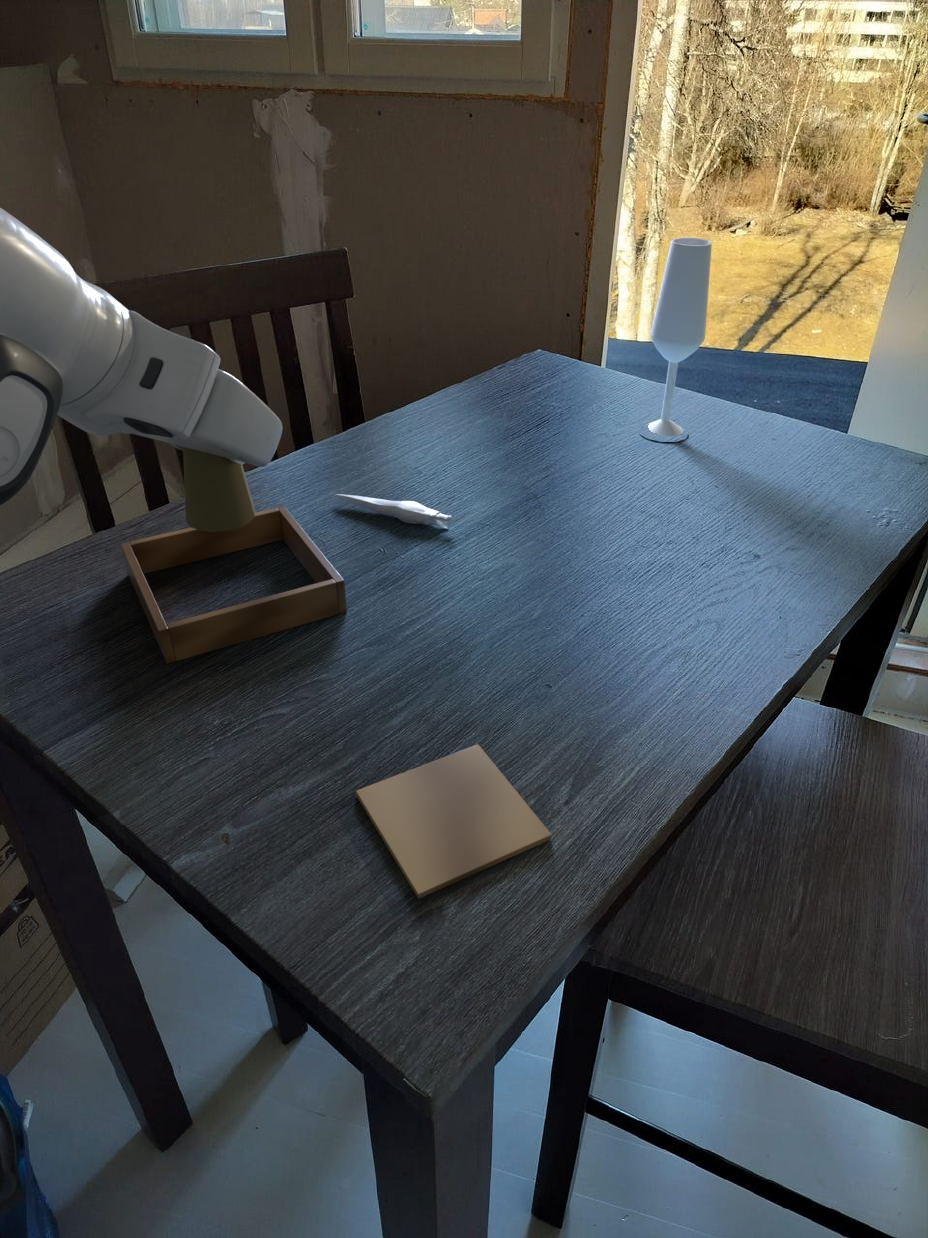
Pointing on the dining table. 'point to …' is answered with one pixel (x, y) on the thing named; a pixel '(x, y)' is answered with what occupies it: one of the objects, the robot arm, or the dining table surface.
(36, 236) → the robot arm
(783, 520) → the dining table surface
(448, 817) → the coaster
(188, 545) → the open box
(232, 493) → the olive game pawn
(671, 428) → the champagne flute
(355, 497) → the white animal figurine
